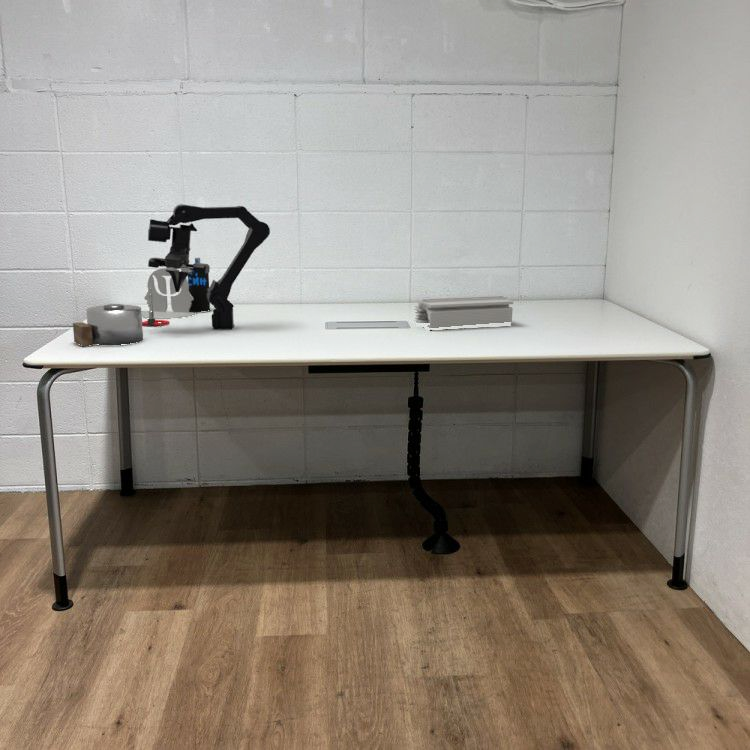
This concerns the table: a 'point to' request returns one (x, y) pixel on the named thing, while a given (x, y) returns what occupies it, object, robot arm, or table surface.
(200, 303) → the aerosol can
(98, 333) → the cylinder
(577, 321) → the table surface
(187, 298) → the ornament
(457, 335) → the table surface
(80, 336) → the walnut block
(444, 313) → the aluminum extrusion profile
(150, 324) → the tow hook
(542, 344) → the table surface
